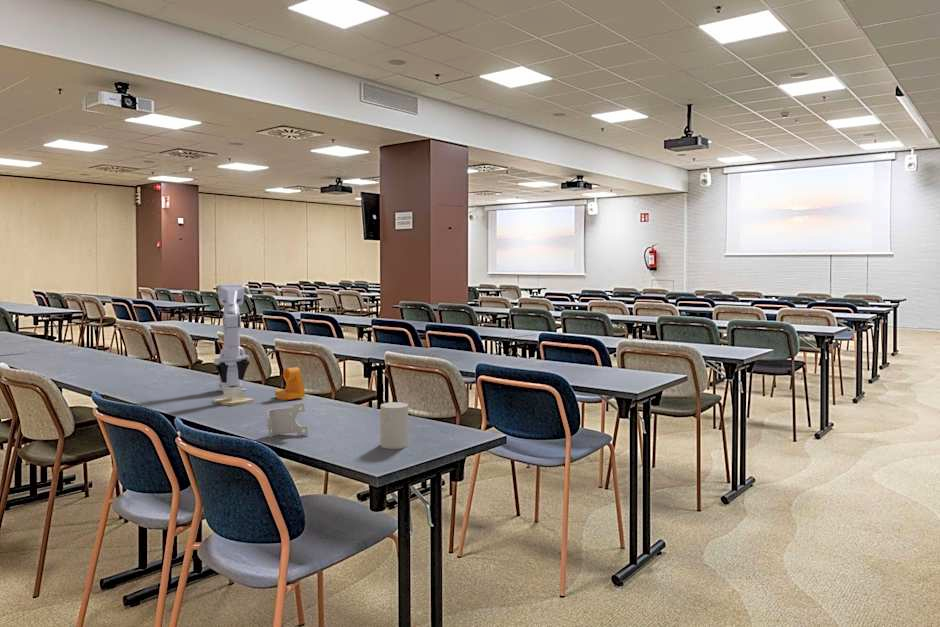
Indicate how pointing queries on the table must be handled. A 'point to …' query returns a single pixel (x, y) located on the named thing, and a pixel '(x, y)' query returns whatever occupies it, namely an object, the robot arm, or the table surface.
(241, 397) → the nut
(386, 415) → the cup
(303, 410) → the bracket
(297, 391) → the bracket
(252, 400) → the post block
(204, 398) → the table surface
